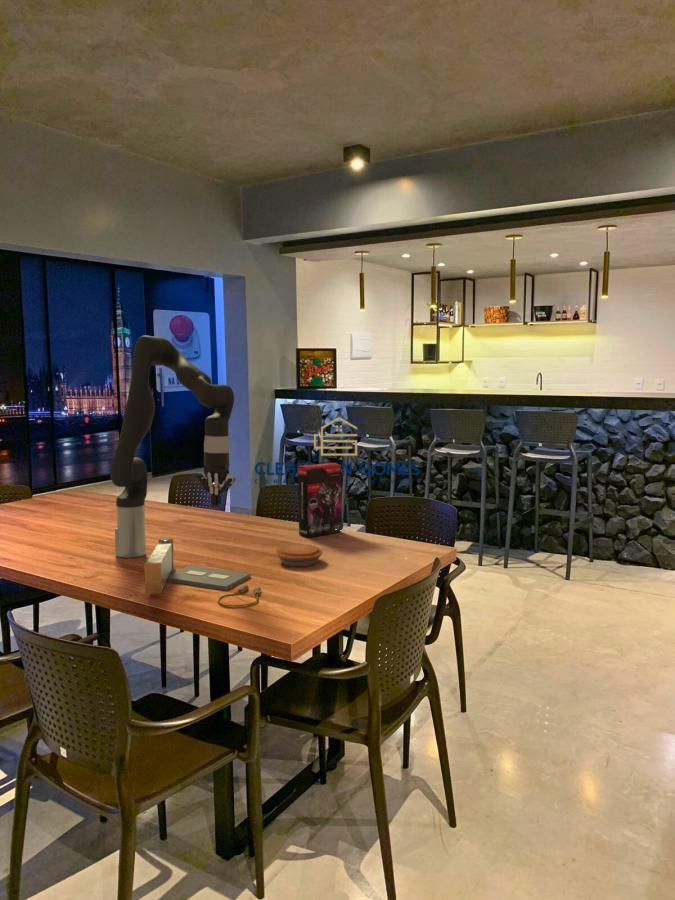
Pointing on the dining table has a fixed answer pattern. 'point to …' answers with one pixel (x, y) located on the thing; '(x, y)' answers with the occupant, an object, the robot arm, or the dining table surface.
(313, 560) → the pie
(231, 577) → the panel
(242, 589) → the extension cord
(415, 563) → the dining table surface
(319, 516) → the graphics card box
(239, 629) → the dining table surface
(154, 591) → the grey rectangular block
